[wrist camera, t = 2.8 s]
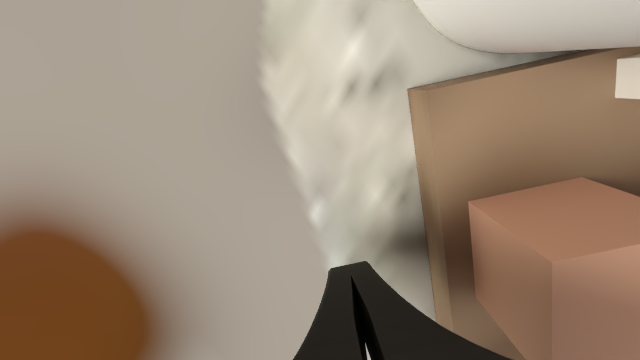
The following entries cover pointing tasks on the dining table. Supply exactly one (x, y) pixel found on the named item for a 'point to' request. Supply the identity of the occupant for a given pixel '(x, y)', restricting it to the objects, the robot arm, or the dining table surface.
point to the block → (561, 269)
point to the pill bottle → (535, 24)
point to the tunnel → (628, 77)
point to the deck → (513, 158)
